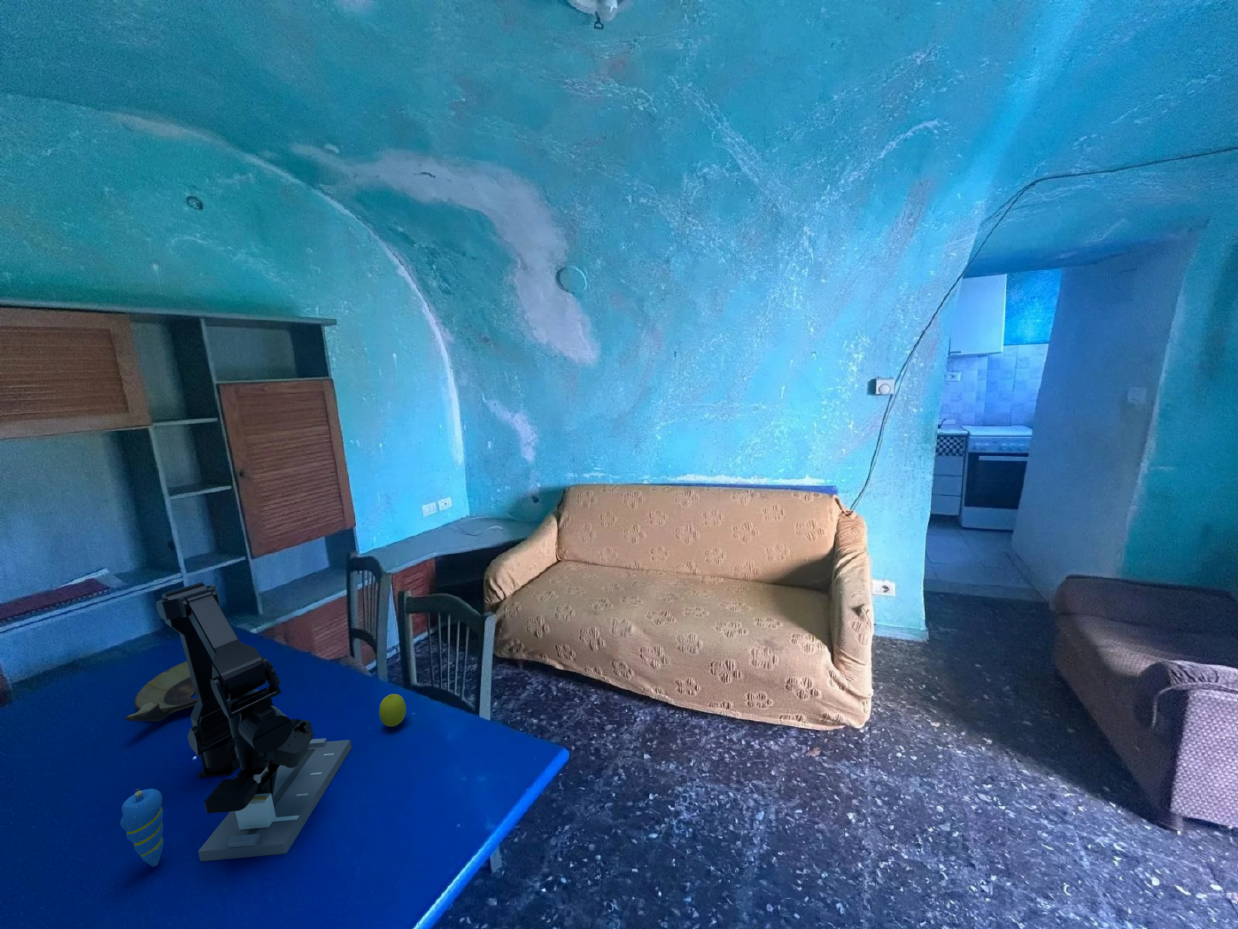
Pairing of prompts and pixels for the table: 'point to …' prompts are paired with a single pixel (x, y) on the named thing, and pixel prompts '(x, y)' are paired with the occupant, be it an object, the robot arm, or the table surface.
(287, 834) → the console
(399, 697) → the lemon
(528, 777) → the table surface
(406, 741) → the table surface
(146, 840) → the ornament
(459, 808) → the table surface
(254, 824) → the fader tab
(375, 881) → the table surface
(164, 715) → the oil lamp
